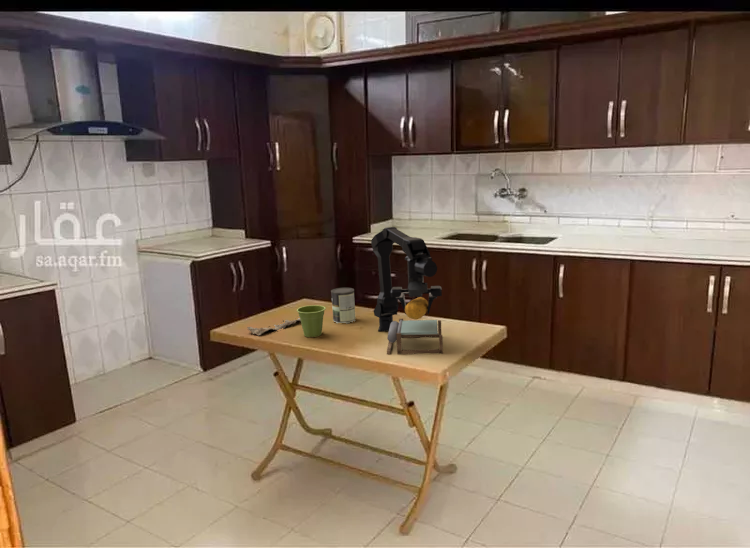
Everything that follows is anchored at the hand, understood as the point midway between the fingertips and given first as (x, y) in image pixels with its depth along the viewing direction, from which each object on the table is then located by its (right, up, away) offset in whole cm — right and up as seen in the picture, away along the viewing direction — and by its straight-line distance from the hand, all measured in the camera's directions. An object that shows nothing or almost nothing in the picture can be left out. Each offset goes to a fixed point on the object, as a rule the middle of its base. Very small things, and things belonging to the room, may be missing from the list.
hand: (417, 313), depth 205 cm
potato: (0, -2, 0) cm, 2 cm away
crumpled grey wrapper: (-56, -8, +38) cm, 68 cm away
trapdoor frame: (0, -12, +2) cm, 12 cm away
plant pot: (-41, -11, +21) cm, 48 cm away
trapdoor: (-1, -8, +2) cm, 9 cm away
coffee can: (-29, -6, +41) cm, 51 cm away
